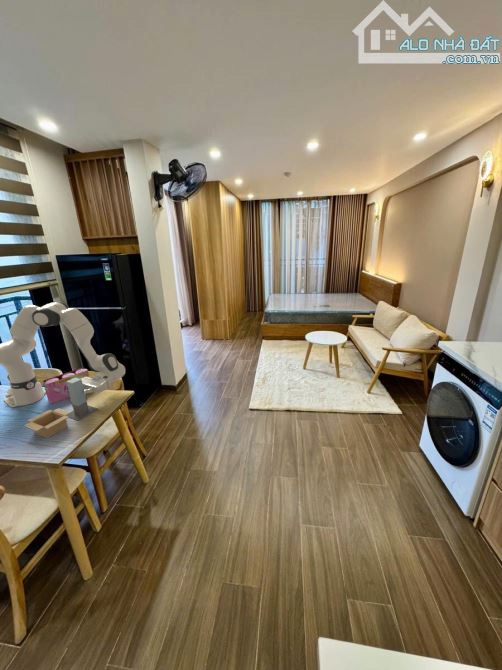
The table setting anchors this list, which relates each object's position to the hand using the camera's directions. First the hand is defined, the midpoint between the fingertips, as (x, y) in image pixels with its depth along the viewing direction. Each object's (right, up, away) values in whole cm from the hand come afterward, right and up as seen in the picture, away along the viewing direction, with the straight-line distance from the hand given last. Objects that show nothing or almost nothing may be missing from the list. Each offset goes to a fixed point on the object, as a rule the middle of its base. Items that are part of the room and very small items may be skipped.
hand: (77, 391), depth 141 cm
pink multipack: (-21, -7, +24) cm, 32 cm away
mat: (0, -13, +4) cm, 14 cm away
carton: (-6, -18, -10) cm, 22 cm away
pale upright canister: (0, -13, +4) cm, 13 cm away
